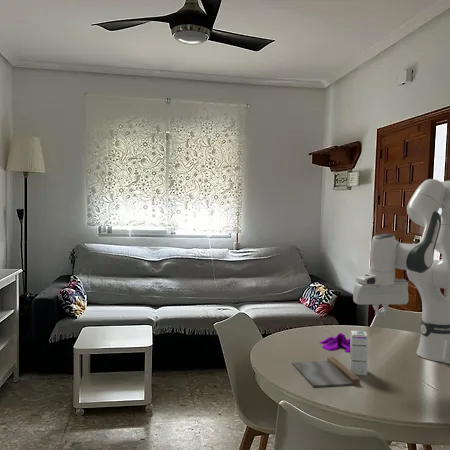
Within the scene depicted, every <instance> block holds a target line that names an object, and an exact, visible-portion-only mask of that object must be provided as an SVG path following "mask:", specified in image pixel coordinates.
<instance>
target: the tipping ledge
mask: <svg viewBox="0 0 450 450" xmlns="http://www.w3.org/2000/svg"><path fill="white" fill-rule="evenodd" d="M292 365H293V366H294V368H296V370H297V371H298V372H299V373H300V374H301V376H302V377H304V379H306V381H307V382H308V383H309V384H310V385H311V386H312V387H313V388H324V387H341V386H342V387H344V386H346V387H347V386H360V385H361V378H360V377H359V376H358V375H355V374H354V373H352V372H351V371H350V368H348V367H346V366H345V365H344V364H343V363H342V362H340V361H339V360H338V359H337V358H336V357H334V356H328V357H327V360H317V361H296V362H295V361H293V362H292Z"/></svg>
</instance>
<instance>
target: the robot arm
mask: <svg viewBox="0 0 450 450" xmlns="http://www.w3.org/2000/svg"><path fill="white" fill-rule="evenodd" d="M439 210H441V212H440V213H439ZM406 213H407V215H408V218H409V219H410V220H411V221H412V222H413V223H414V224H417V225H418V226H421V227H422V228H424V229H423V232H422V236H421V238H420V241H419V242H418V243H404V242H400V241H398V240H397V239H396V237H395V236H396V235H394V234H392V233H378V234H375V235H374V236H372V240H371V244H370V250H369V251H370V252H369V254H370V255H369V260H370V266H369V268H368V269H369V272H366V273H362V274H360V275H357V276H356V277H355V281H356V283H355V284H354V287H353V295H352V300H353V302H354V303H355V304H357V305H372V308H373V310H374V311H375V312H374V313H375V314H374V315H375V317H379V318H380V317H383V318H385V317H386V312H387V310H388V309H389V305H407V304H408V303H409V299H410V298H409V289H408V288H409V282H408V280H409V281H410V282H411V283H412V284H413V285H414V286H415V288H416V289H417V292H418V293H419V295H420V298H421V306H422V307H421V310H422V311H421V314H422V315H421V320H420V338H419V343H418V346H417V350H416V353H415V354H417V355H418V356H419V357H421V358H422V359H423V358H424V359H427V360H430V361H435V362H440V363H445V364H450V299H449V298H447V297H446V296H444V294H443V293H442V291H441V289H444V290H445V289H446V290H450V180H444V181H440V180H438V179H434V178H428V179H426V180H424V181H423V182H421V184H420V185H419V186H418V187H417V188H416V189H415V191H414V193H413V194H412V195H411V198H410V199H409V201H408V204H407V206H406ZM435 251H436V252H438V253H439V254H441V259H434V255H435ZM396 269H398V270H404V271H406V276H407V278H408V280H407V279H405V278H396ZM380 305H382V306H381V307H382V308H381V310H379V308H380Z"/></svg>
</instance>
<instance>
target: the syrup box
mask: <svg viewBox="0 0 450 450" xmlns="http://www.w3.org/2000/svg"><path fill="white" fill-rule="evenodd" d="M368 337H369V336H368V333H367V332H366V330H365V331H363V330H350V339H351V342H350V352H349V353H350V355H349V370H350V371H351V372H352V373H354V374H355V375H356V376H368V356H369V355H368V354H369V353H368V350H369V349H368V348H369V347H368Z"/></svg>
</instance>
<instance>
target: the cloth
mask: <svg viewBox="0 0 450 450" xmlns="http://www.w3.org/2000/svg"><path fill="white" fill-rule="evenodd" d="M350 342H351V338H346V335H345V334H344V333H341V332H340V333H338V334H337V335H336V336H335V337H334V336H329V337H328V338H327V337H326V339H324V340H321V341H319V342H318V343H319V344H321V345H322V349H325V350H326V351H329V352H331V351H336V350H339V349H341V348H342V349H345V351H344V353H350Z"/></svg>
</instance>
